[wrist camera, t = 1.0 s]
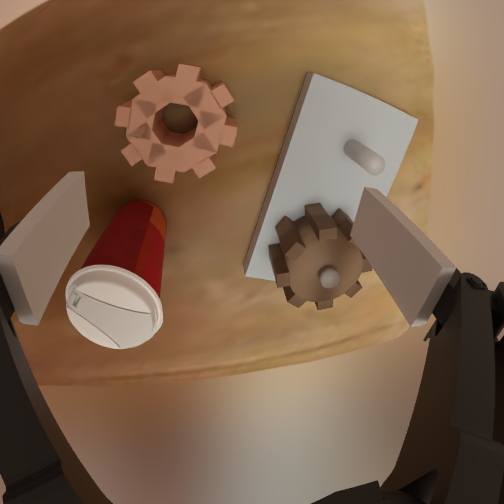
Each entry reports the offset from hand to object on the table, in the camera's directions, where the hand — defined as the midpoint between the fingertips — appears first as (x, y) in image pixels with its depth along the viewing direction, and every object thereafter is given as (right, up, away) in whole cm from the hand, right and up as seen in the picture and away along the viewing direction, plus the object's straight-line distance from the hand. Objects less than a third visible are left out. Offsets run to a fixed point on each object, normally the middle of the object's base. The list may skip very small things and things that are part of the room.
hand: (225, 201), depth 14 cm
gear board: (+9, +4, +18) cm, 21 cm away
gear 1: (-5, +10, +12) cm, 17 cm away
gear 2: (+8, -1, +19) cm, 21 cm away
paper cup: (-10, +1, +18) cm, 21 cm away
